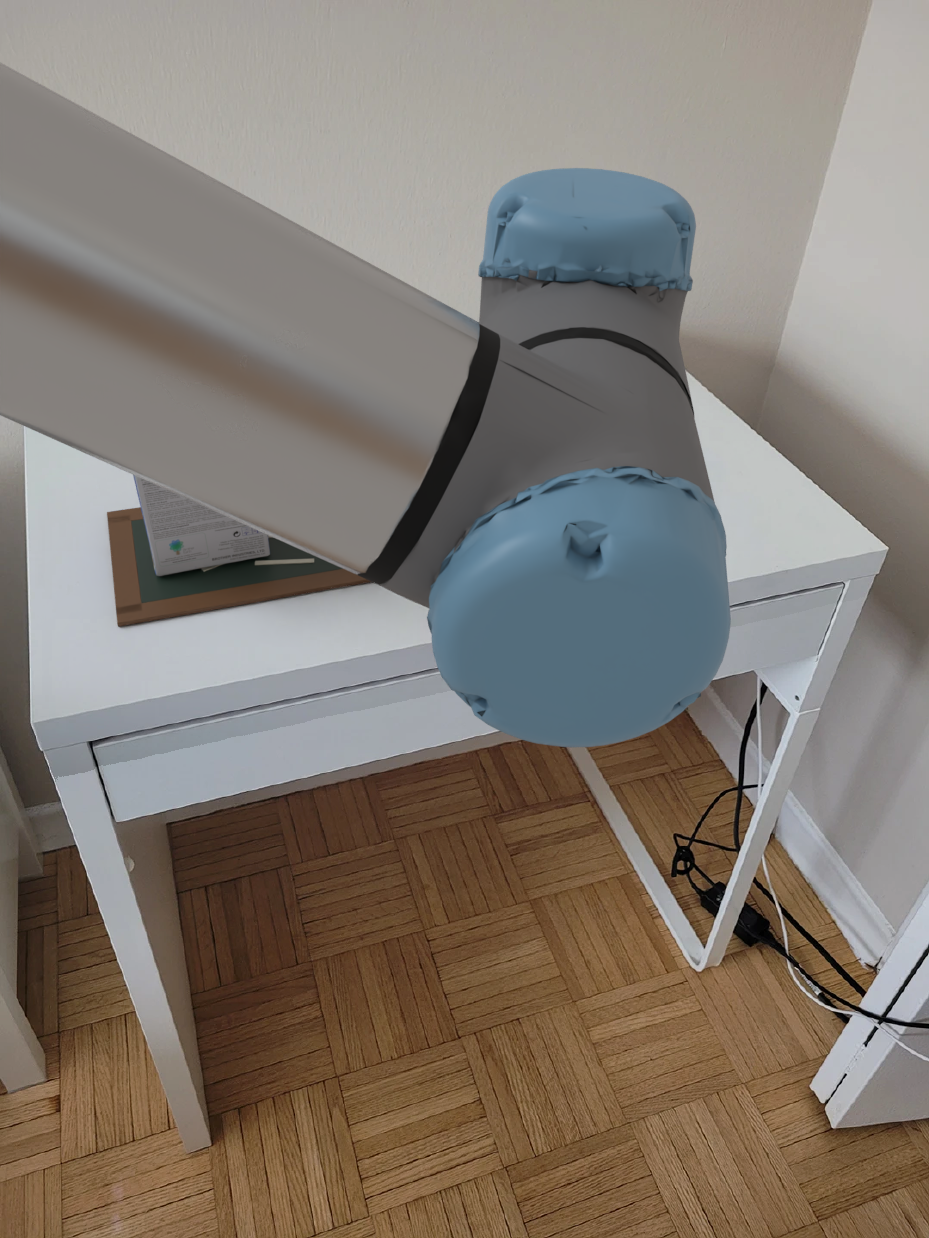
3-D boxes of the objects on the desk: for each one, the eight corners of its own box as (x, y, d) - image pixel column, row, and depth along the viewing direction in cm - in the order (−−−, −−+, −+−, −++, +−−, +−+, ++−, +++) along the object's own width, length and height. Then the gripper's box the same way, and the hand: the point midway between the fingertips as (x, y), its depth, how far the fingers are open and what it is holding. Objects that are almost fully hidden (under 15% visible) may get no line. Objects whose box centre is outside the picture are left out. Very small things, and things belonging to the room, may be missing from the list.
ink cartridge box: (261, 522, 86) (242, 373, 76) (274, 557, 82) (256, 405, 72) (148, 541, 83) (114, 389, 73) (156, 579, 79) (121, 424, 69)
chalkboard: (118, 626, 75) (116, 622, 75) (107, 515, 86) (106, 511, 86) (388, 579, 81) (387, 574, 80) (344, 480, 92) (344, 476, 92)
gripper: (210, 605, 45) (45, 421, 57) (587, 449, 57) (385, 326, 69) (186, 469, 40) (11, 300, 52) (604, 331, 52) (383, 220, 65)
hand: (224, 314), depth 61 cm, fingers open, 13 cm apart
